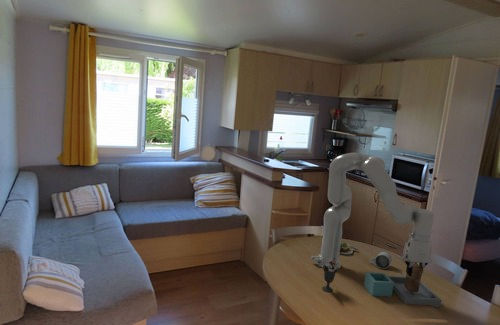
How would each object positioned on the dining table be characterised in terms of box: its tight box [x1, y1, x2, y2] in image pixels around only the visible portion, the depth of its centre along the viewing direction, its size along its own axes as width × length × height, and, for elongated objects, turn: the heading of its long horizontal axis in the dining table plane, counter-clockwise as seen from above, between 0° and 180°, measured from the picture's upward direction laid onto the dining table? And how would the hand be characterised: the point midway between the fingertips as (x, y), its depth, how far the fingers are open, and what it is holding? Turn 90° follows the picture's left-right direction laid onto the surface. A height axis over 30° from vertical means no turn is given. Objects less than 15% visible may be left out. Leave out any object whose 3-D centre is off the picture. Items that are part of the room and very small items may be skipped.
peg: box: [404, 263, 424, 292], centre depth 159 cm, size 4×4×12 cm
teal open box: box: [363, 271, 394, 297], centre depth 158 cm, size 9×9×8 cm
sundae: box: [321, 258, 339, 293], centre depth 157 cm, size 7×7×15 cm
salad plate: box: [339, 241, 359, 256], centre depth 205 cm, size 19×18×5 cm
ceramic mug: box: [369, 251, 393, 270], centre depth 188 cm, size 11×8×8 cm
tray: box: [387, 275, 442, 308], centre depth 160 cm, size 16×20×4 cm
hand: (413, 274), depth 159 cm, fingers closed on peg, 4 cm apart
